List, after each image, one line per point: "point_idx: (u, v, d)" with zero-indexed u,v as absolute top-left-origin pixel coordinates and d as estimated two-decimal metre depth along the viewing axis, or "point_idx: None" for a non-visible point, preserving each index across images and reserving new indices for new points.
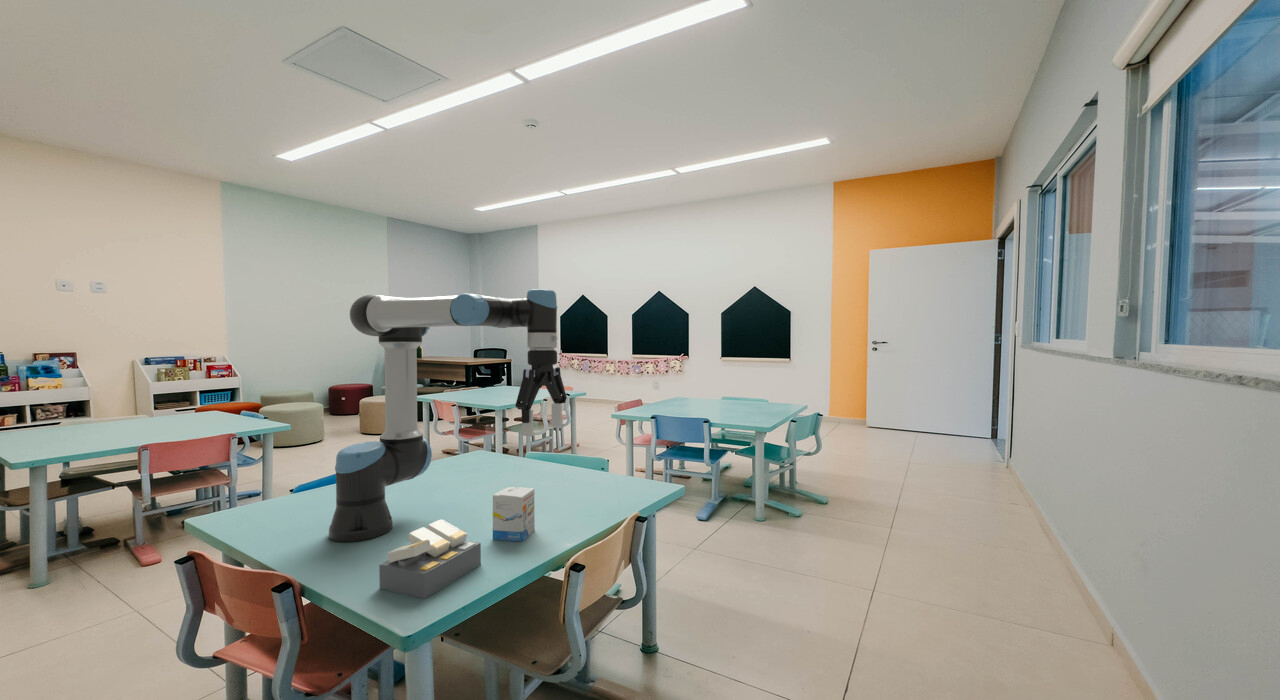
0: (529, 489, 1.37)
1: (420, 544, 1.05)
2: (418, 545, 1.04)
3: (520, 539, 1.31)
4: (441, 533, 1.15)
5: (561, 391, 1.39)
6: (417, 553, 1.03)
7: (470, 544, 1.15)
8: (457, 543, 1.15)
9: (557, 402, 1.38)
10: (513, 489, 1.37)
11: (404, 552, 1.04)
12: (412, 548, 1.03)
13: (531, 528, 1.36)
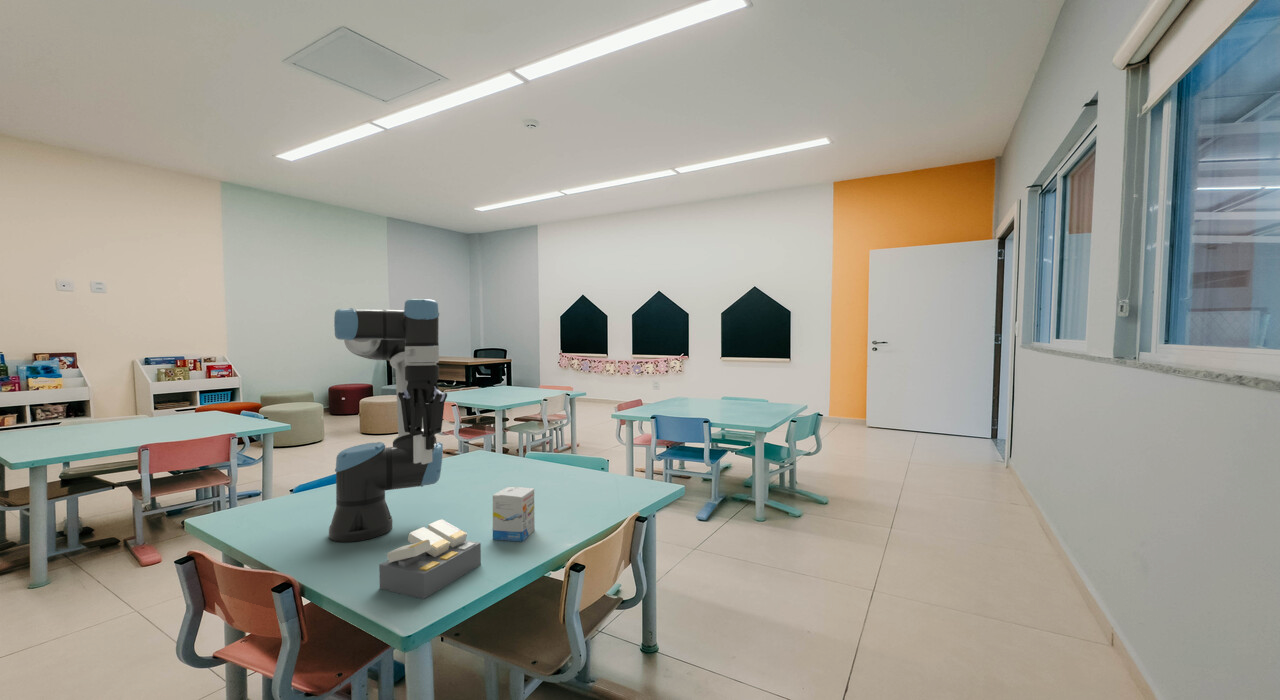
0: (529, 489, 1.37)
1: (420, 544, 1.05)
2: (418, 545, 1.04)
3: (520, 539, 1.31)
4: (441, 533, 1.15)
5: None
6: (417, 553, 1.03)
7: (470, 544, 1.15)
8: (457, 543, 1.15)
9: None
10: (513, 489, 1.37)
11: (404, 552, 1.04)
12: (412, 548, 1.03)
13: (531, 528, 1.36)
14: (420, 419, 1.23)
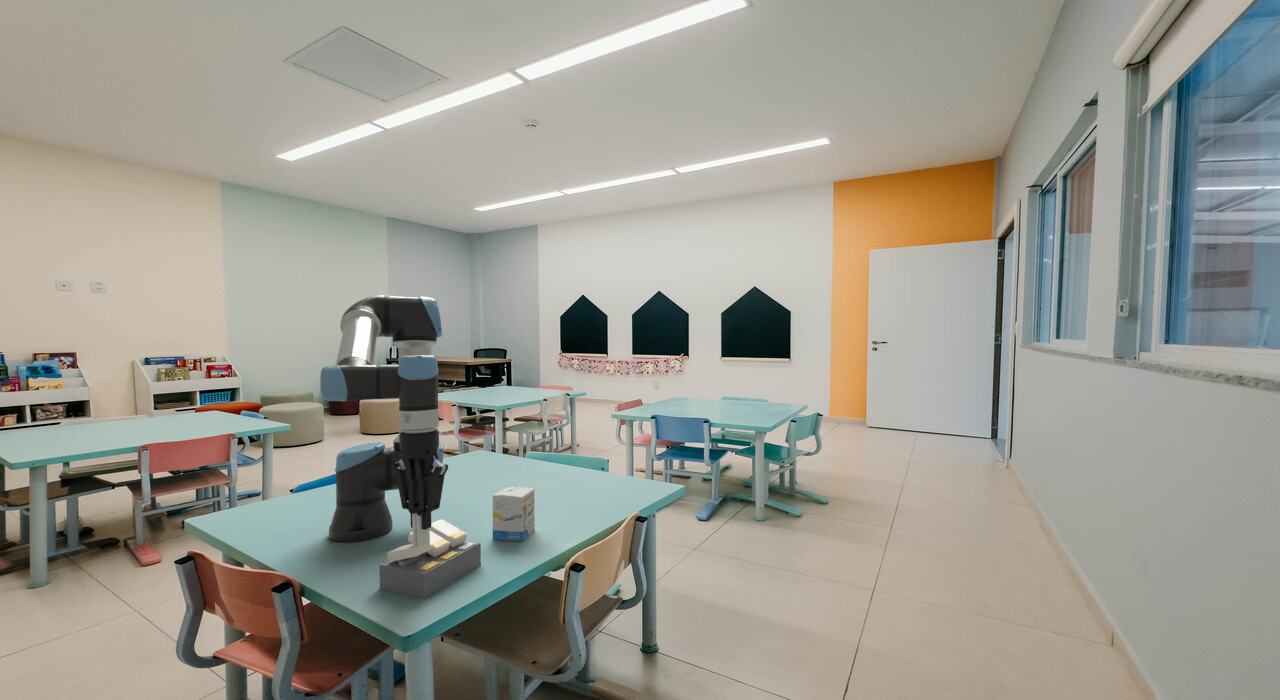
0: (529, 489, 1.37)
1: None
2: None
3: (520, 539, 1.31)
4: (441, 533, 1.15)
5: None
6: (417, 554, 1.03)
7: (470, 544, 1.15)
8: (457, 543, 1.15)
9: None
10: (513, 489, 1.37)
11: (404, 552, 1.04)
12: (412, 548, 1.03)
13: (531, 528, 1.36)
14: None
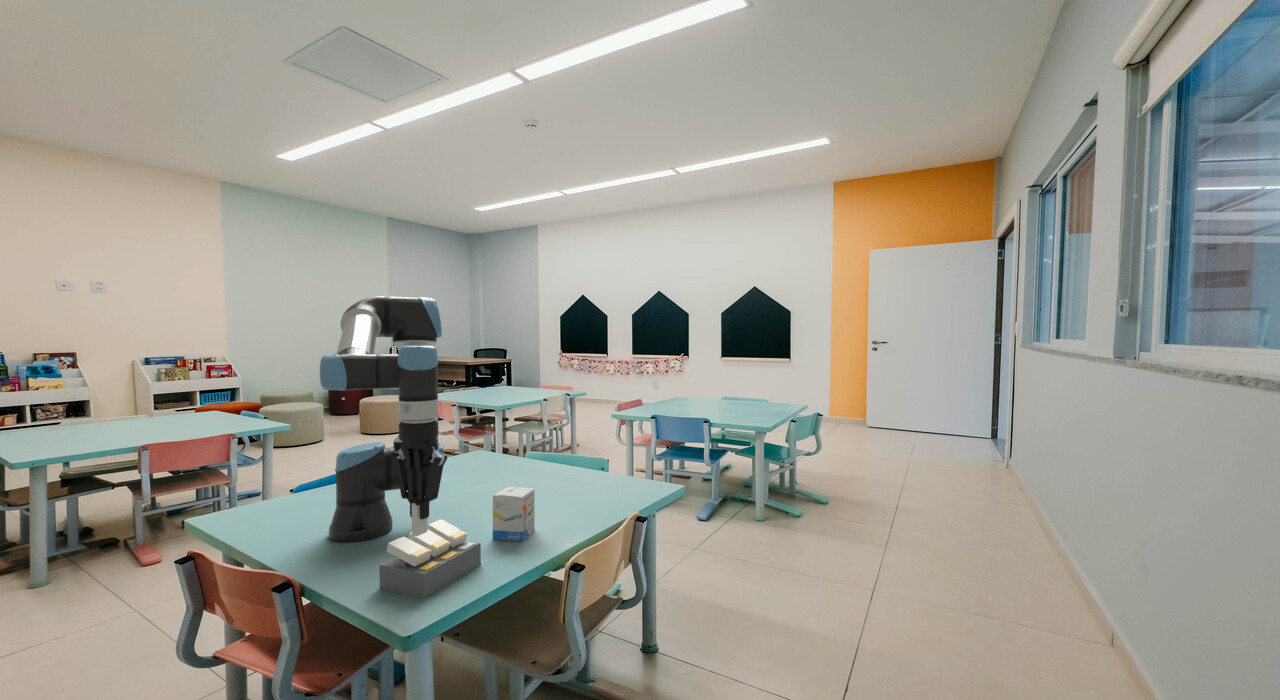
0: (529, 489, 1.37)
1: (422, 555, 1.05)
2: (420, 556, 1.04)
3: (520, 539, 1.31)
4: (441, 533, 1.15)
5: None
6: (416, 564, 1.04)
7: (470, 544, 1.15)
8: (457, 543, 1.15)
9: None
10: (513, 489, 1.37)
11: (405, 555, 1.04)
12: (414, 558, 1.03)
13: (531, 528, 1.36)
14: None
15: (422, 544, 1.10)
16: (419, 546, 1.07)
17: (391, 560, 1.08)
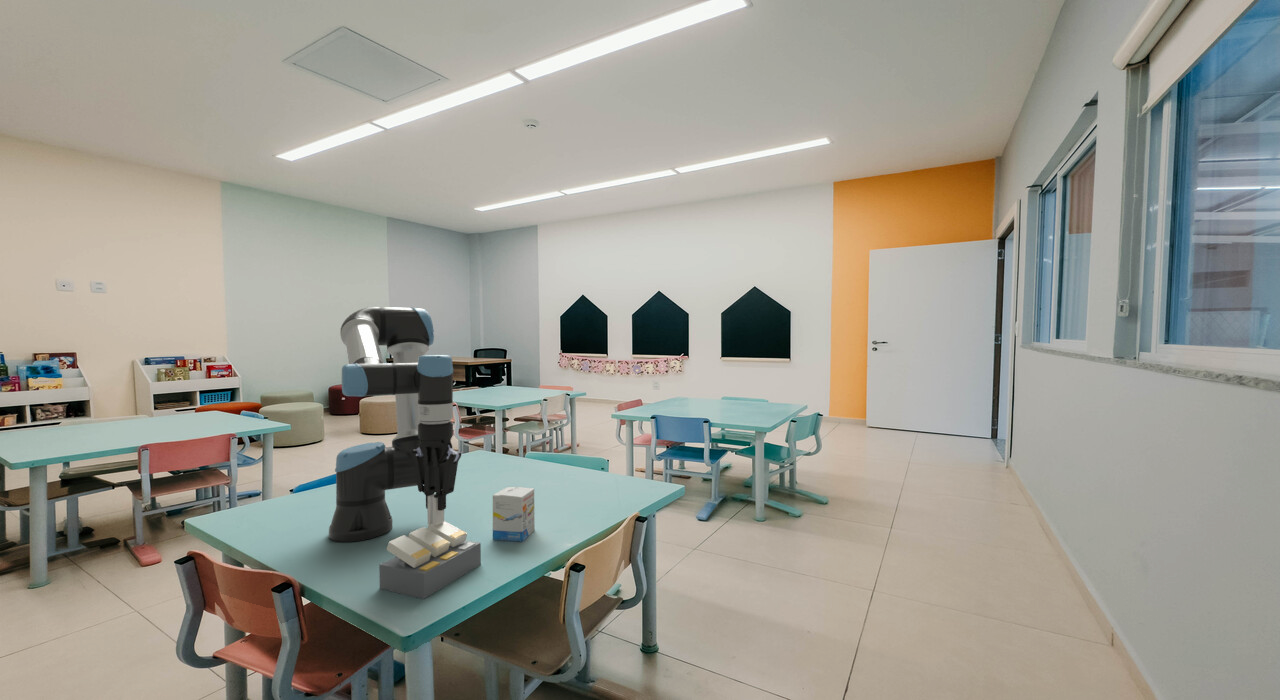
0: (529, 489, 1.37)
1: (422, 557, 1.05)
2: (420, 558, 1.04)
3: (520, 539, 1.31)
4: (441, 533, 1.15)
5: None
6: (415, 566, 1.04)
7: (470, 544, 1.15)
8: (458, 543, 1.15)
9: None
10: (513, 489, 1.37)
11: (405, 555, 1.04)
12: (414, 559, 1.03)
13: (531, 528, 1.36)
14: (434, 478, 1.19)
15: (422, 544, 1.10)
16: (419, 547, 1.07)
17: (391, 560, 1.08)
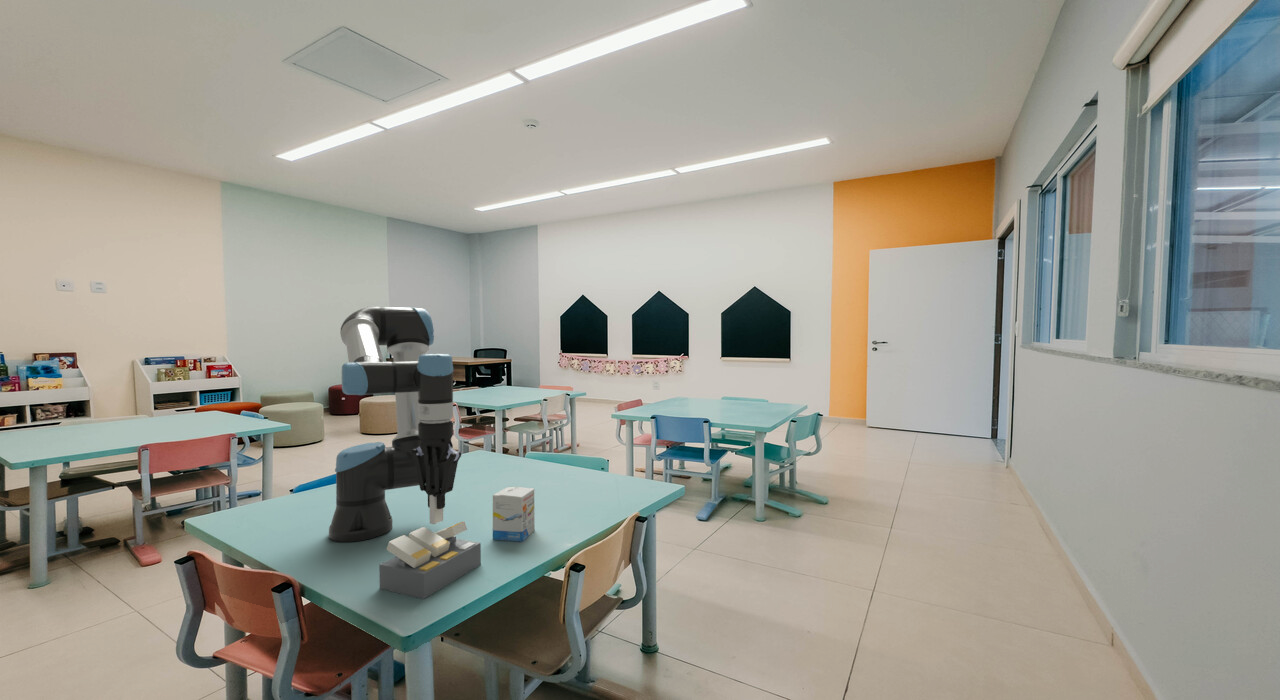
0: (529, 489, 1.37)
1: (422, 557, 1.05)
2: (420, 558, 1.04)
3: (520, 539, 1.31)
4: (440, 533, 1.15)
5: None
6: (415, 566, 1.04)
7: (470, 544, 1.15)
8: (458, 531, 1.15)
9: None
10: (513, 489, 1.37)
11: (405, 555, 1.04)
12: (414, 559, 1.03)
13: (531, 528, 1.36)
14: None
15: (422, 544, 1.10)
16: (419, 547, 1.07)
17: (391, 560, 1.08)
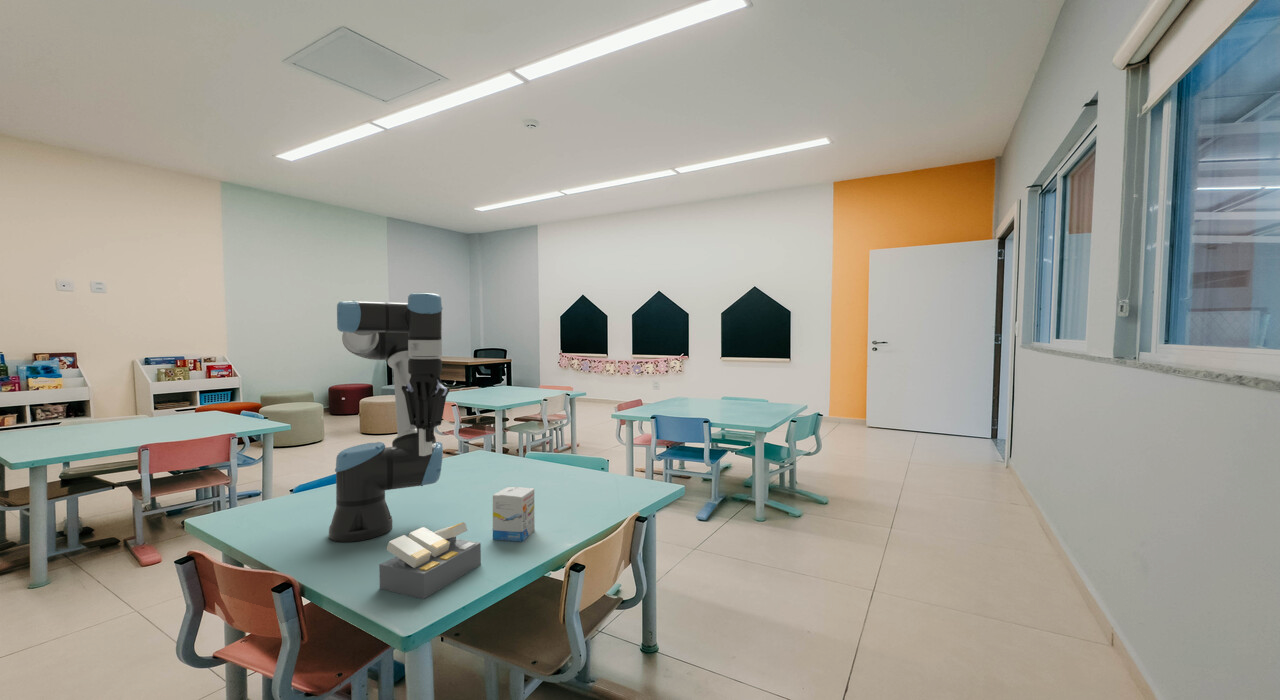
0: (529, 489, 1.37)
1: (422, 557, 1.05)
2: (420, 558, 1.04)
3: (520, 539, 1.31)
4: (440, 533, 1.15)
5: None
6: (415, 566, 1.04)
7: (470, 544, 1.15)
8: (459, 532, 1.15)
9: None
10: (513, 489, 1.37)
11: (405, 555, 1.04)
12: (414, 559, 1.03)
13: (531, 528, 1.36)
14: None
15: (422, 544, 1.10)
16: (419, 547, 1.07)
17: (391, 560, 1.08)
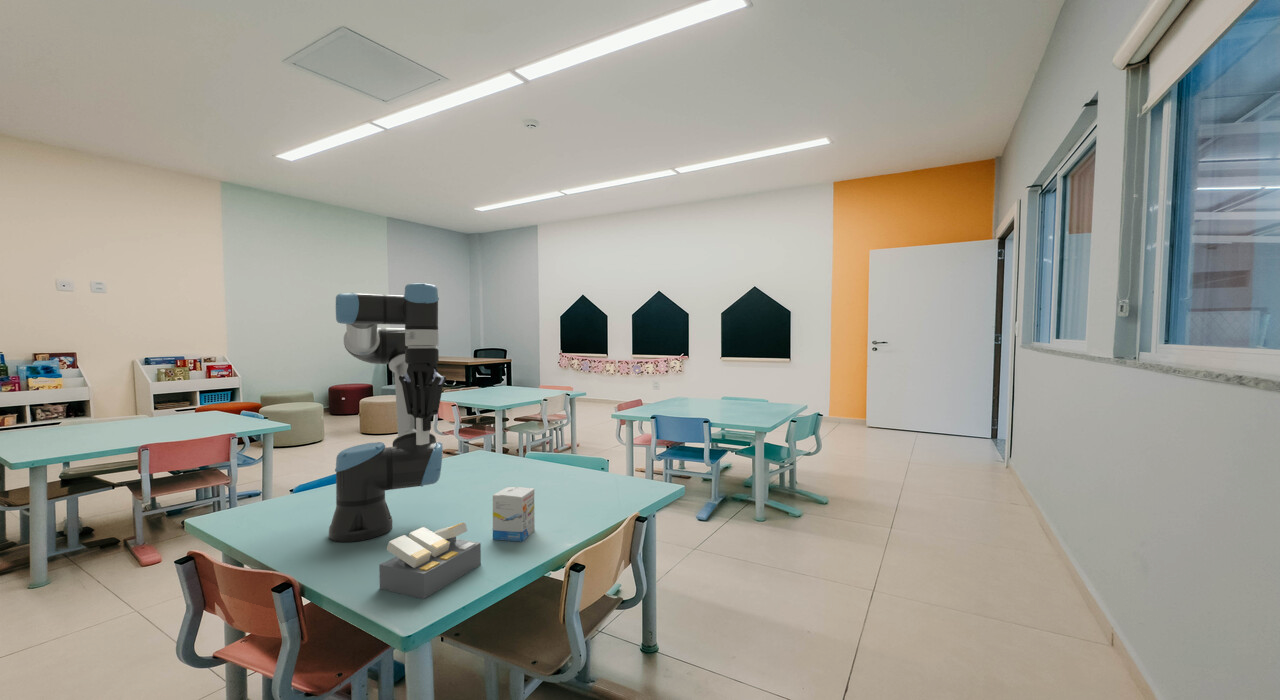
0: (529, 489, 1.37)
1: (422, 557, 1.05)
2: (420, 558, 1.04)
3: (520, 539, 1.31)
4: (440, 533, 1.15)
5: None
6: (415, 566, 1.04)
7: (470, 544, 1.15)
8: (459, 533, 1.15)
9: None
10: (513, 489, 1.37)
11: (405, 555, 1.04)
12: (414, 559, 1.03)
13: (531, 528, 1.36)
14: None
15: (422, 544, 1.10)
16: (419, 547, 1.07)
17: (391, 560, 1.08)
